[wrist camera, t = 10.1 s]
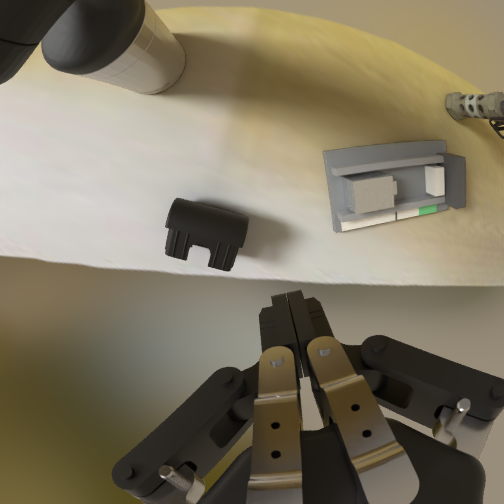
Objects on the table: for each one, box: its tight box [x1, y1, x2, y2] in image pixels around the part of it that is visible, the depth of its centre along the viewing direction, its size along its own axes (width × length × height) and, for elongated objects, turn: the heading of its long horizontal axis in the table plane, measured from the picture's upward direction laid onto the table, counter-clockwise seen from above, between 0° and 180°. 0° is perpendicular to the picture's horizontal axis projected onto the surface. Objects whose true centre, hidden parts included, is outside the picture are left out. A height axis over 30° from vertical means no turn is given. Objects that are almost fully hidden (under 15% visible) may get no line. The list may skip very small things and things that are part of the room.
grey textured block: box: [342, 171, 397, 214], centre depth 35 cm, size 4×8×4 cm, turn 102°
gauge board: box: [323, 140, 466, 233], centre depth 35 cm, size 12×22×6 cm, turn 102°
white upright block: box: [425, 165, 445, 196], centre depth 35 cm, size 4×2×3 cm, turn 12°
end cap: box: [165, 198, 249, 271], centre depth 37 cm, size 10×7×7 cm
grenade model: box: [446, 92, 504, 139], centre depth 25 cm, size 6×7×15 cm
